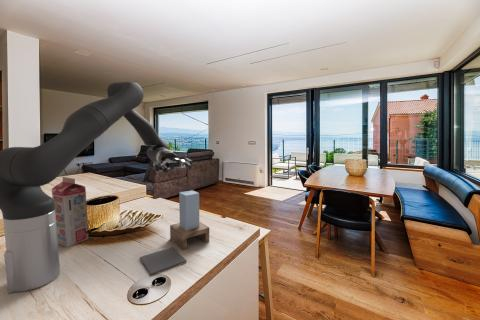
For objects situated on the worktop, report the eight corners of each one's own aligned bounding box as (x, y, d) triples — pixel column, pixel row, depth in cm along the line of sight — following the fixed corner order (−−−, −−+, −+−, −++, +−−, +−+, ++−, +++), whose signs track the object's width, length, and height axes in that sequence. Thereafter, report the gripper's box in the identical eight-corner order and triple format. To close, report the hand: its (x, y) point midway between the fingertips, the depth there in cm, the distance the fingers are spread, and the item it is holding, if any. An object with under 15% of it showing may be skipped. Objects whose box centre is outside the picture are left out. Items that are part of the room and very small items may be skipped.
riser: (182, 250, 71) (182, 235, 70) (170, 238, 78) (170, 225, 78) (209, 241, 77) (209, 227, 76) (195, 231, 85) (195, 218, 84)
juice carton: (77, 234, 80) (73, 175, 78) (88, 238, 77) (84, 177, 75) (55, 242, 74) (50, 178, 72) (67, 247, 71) (62, 180, 69)
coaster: (151, 275, 58) (150, 273, 57) (140, 258, 65) (140, 256, 65) (186, 262, 64) (186, 260, 64) (172, 248, 72) (172, 246, 71)
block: (186, 230, 73) (185, 195, 72) (179, 225, 77) (179, 192, 76) (199, 226, 77) (199, 193, 75) (192, 222, 80) (192, 190, 79)
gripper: (148, 151, 89) (157, 161, 76) (183, 149, 97) (196, 157, 84) (150, 169, 91) (159, 181, 78) (183, 165, 99) (197, 176, 86)
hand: (178, 169), depth 81 cm, fingers open, 8 cm apart
